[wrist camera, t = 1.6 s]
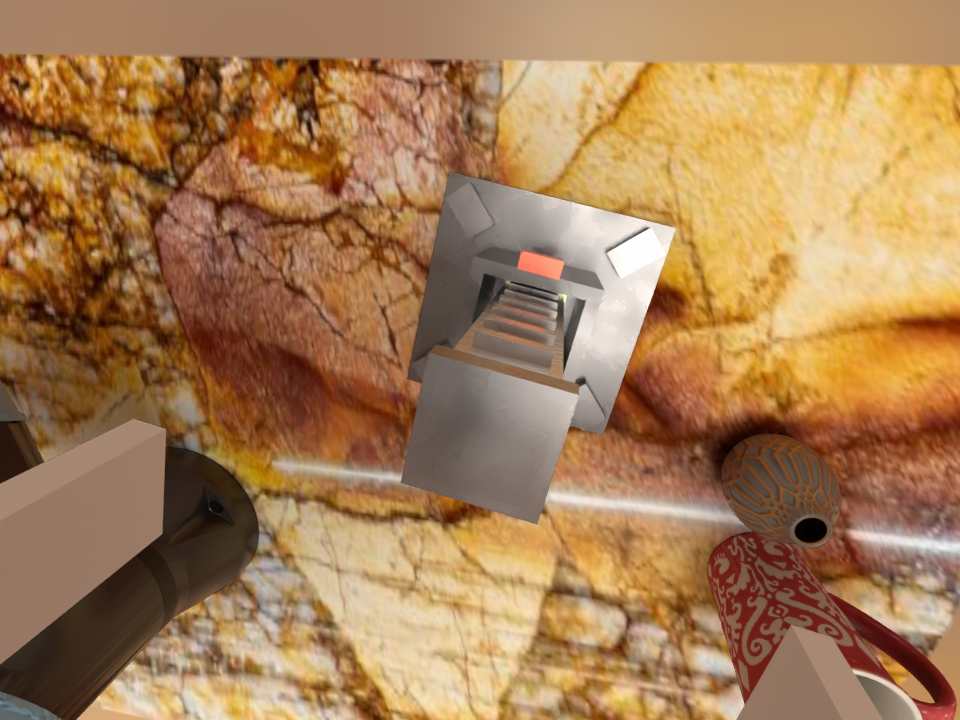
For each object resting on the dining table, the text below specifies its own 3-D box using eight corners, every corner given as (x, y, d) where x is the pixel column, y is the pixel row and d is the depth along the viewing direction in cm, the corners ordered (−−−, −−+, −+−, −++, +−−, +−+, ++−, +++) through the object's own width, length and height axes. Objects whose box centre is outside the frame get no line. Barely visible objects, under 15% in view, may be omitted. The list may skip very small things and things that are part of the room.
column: (491, 331, 38) (400, 482, 17) (507, 267, 36) (429, 346, 15) (552, 348, 37) (537, 524, 17) (572, 284, 36) (581, 389, 15)
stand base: (410, 374, 41) (367, 421, 32) (452, 172, 36) (415, 160, 27) (601, 429, 40) (612, 494, 31) (673, 227, 35) (710, 234, 26)
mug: (684, 605, 43) (735, 771, 30) (704, 514, 40) (769, 656, 28) (843, 630, 41) (968, 818, 29) (875, 537, 39) (1028, 699, 26)
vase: (828, 445, 37) (903, 513, 29) (772, 515, 40) (828, 596, 31) (743, 405, 37) (794, 461, 29) (693, 477, 40) (727, 548, 31)
